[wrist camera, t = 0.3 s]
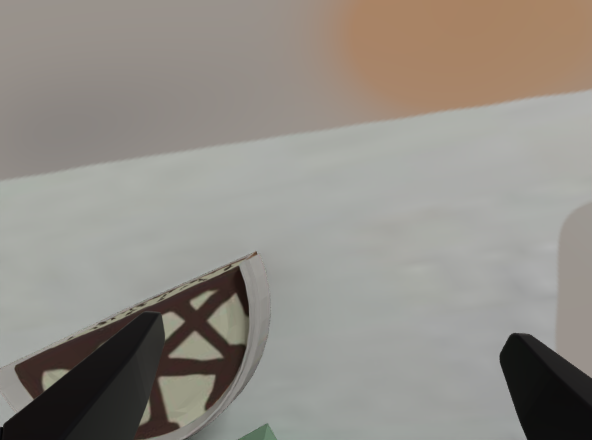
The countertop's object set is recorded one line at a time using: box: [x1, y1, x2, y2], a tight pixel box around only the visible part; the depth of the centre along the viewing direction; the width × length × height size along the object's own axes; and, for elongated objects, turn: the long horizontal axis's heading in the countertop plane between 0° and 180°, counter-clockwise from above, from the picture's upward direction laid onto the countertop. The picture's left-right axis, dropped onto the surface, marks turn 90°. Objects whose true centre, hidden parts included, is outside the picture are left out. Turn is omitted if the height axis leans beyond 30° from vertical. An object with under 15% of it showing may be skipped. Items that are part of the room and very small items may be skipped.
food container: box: [0, 251, 271, 440], centre depth 19 cm, size 12×6×10 cm, turn 114°
